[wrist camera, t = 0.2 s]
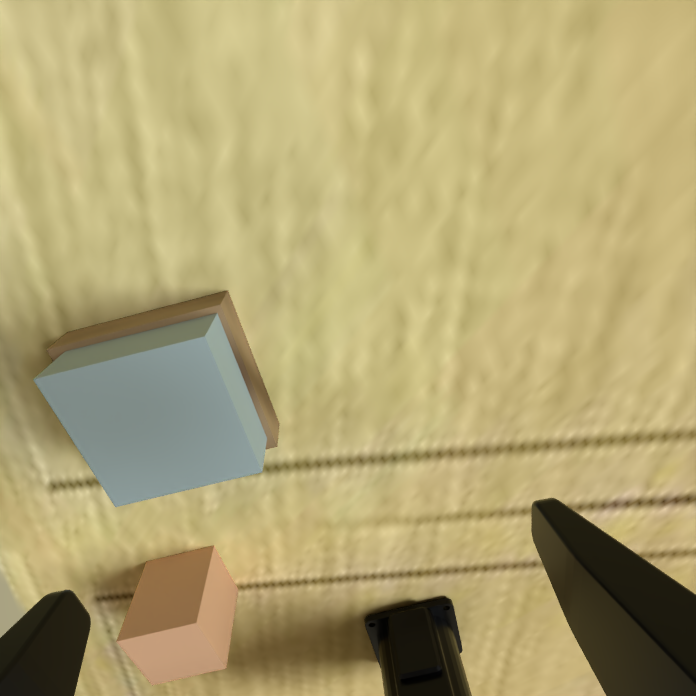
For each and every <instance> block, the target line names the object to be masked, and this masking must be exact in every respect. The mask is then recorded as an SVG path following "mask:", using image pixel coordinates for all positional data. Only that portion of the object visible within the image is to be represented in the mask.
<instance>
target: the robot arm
mask: <svg viewBox="0 0 696 696" xmlns="http://www.w3.org/2000/svg"><path fill="white" fill-rule="evenodd" d="M532 537H533V541H534V544H535V546H536V548H537V551H538V553H539V556H540V558H541V560H542V563H543V565H544V568H545V570H546V572H547V575H548V577H549V579H550V582H551V584H552V587H553V589H554V591H555V594H556V596H557V598H558V601H559V603H560V606H561V608H562V610H563V613H564V615H565V617H566V620H567V622H568V624H569V626H570V628H571V630H572V632H573V634H574V636H575V638H576V640H577V642H578V644H579V646H580V647H581V649H582V651H583V653H584V655H585V657H586V659H587V660H588V662H589V664H590V666H591V668H592V670H593V671H594V673H595V675H596V677H597V679H598V681H599V683H600V684H601V686H602V688H603V690H604V692H605V694H606V696H696V594H694V593H693V592H691V591H690V590H688V589H687V588H685V587H684V586H683V585H681V584H680V583H678V582H677V581H675V580H674V579H672V578H671V577H669V576H668V575H667V574H665V573H664V572H662V571H661V570H659V569H658V568H656V567H655V566H653V565H652V564H651V563H649V562H648V561H646V560H645V559H643V558H642V557H640V556H639V555H637V554H636V553H634V552H633V551H632V550H630V549H629V548H627V547H626V546H624V545H623V544H621V543H620V542H618V541H617V540H616V539H614V538H613V537H611V536H610V535H608V534H607V533H605V532H604V531H602V530H601V529H600V528H598V527H597V526H595V525H594V524H592V523H591V522H589V521H588V520H586V519H585V518H584V517H582V516H581V515H579V514H578V513H576V512H575V511H573V510H572V509H570V508H569V507H568V506H566V505H565V504H563V503H562V502H560V501H559V500H557V499H554V498H548V499H543V500H537V501H534V502H533V504H532ZM90 625H91V621H90V615H89V613H88V612H87V610H86V609H85V607H84V606H83V605H82V603H81V602H80V600H79V599H78V597H77V596H76V595H75V593H74V592H73V591H70V590H64V591H58V592H53V593H50V594H47V595H46V596H44V597H43V598H42V599H41V600H40V601H39V602H38V603H37V604H36V605H35V606H33V607H32V608H31V609H30V610H29V611H28V612H27V613H26V614H25V615H24V616H23V617H22V618H21V619H20V620H19V621H18V622H17V623H16V624H15V625H13V627H11V628H10V629H9V630H8V631H7V632H6V633H5V634H4V635H3V636H2V637H1V638H0V696H74V694H75V690H76V686H77V682H78V677H79V673H80V669H81V665H82V661H83V657H84V652H85V648H86V644H87V640H88V636H89V632H90ZM365 627H366V630H367V632H368V635H369V638H370V640H371V643H372V646H373V649H374V651H375V654H376V657H377V659H378V662H379V665H380V668H381V672H382V679H383V687H384V694H385V696H472V695H471V691H470V688H469V684H468V681H467V678H466V674H465V671H464V667H463V664H462V660H461V657H460V653H461V652H462V645H461V640H460V635H459V631H458V626H457V621H456V616H455V612H454V607H453V603H452V601H451V599H448V598H444V599H440V600H435V601H431V602H427V603H422V604H418V605H413V606H409V607H405V608H400V609H396V610H391V611H387V612H383V613H378V614H374V615H370V616H367V617H366V618H365Z"/></svg>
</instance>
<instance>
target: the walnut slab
mask: <svg viewBox="0 0 696 696" xmlns="http://www.w3.org/2000/svg"><path fill="white" fill-rule="evenodd" d="M215 313H218V316H219V318H220V321H221V324H222V326H223V329H224V331H225V334H226V336H227V339H228V341H229V344H230V346H231V349H232V351H233V354H234V356H235V359H236V361H237V364H238V366H239V369H240V371H241V374H242V376H243V379H244V381H245V384H246V386H247V389H248V391H249V394H250V397H251V399H252V402H253V404H254V407H255V409H256V412H257V414H258V417H259V419H260V422H261V424H262V427H263V429H264V432H265V434H266V437H267V442H266V449H269V448H273V447H277V443H278V433H279V421H278V419H277V416H276V414H275V411H274V409H273V406H272V403H271V401H270V398H269V396H268V393H267V390H266V388H265V385H264V383H263V380H262V377H261V375H260V372H259V370H258V367H257V365H256V362H255V359H254V357H253V354H252V352H251V349H250V346H249V344H248V341H247V339H246V336H245V333H244V331H243V328H242V326H241V323H240V320H239V318H238V315H237V313H236V310H235V308H234V305H233V302H232V300H231V297H230V295H229V292H228V291H224V292H220V293H216V294H212V295H208V296H205V297H201V298H197V299H193V300H189V301H185V302H182V303H178V304H174V305H170V306H166V307H162V308H159V309H155V310H151V311H147V312H143V313H139V314H136V315H132V316H128V317H124V318H120V319H116V320H113V321H109V322H105V323H101V324H97V325H93V326H90V327H86V328H82V329H78V330H74V331H70V332H67V333H66V334H65V335H64V336H62V337H61V338H60V339H59V340H57V341H56V342H55V343H54V344H53V345H51V346H50V347H49V348H48V349H46V351H47V352H48V354H49V355H50V357H51V359H52V360H53V362H54V361H55V360H56V359H57V358H58V357H59V356H60V355H62V354H63V353H64V352H65V351H69V350H72V349H76V348H80V347H84V346H88V345H92V344H96V343H100V342H104V341H108V340H112V339H116V338H120V337H124V336H128V335H132V334H136V333H140V332H144V331H148V330H152V329H156V328H160V327H164V326H168V325H172V324H176V323H180V322H184V321H188V320H192V319H195V318H199V317H203V316H207V315H211V314H215Z"/></svg>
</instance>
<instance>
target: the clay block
mask: <svg viewBox="0 0 696 696" xmlns="http://www.w3.org/2000/svg"><path fill="white" fill-rule="evenodd" d="M237 595H238V588H237V586H236V584H235V583H234V581H233V579H232V577H231V575H230V574H229V572H228V570H227V568H226V566H225V564H224V563H223V561H222V559H221V557H220V555H219V554H218V552H217V550H216V548H215V546H210V547H206V548H201V549H197V550H193V551H189V552H184V553H180V554H176V555H172V556H168V557H163V558H159V559H155V560H151V561H147V562H146V564H145V567H144V570H143V572H142V575H141V578H140V580H139V583H138V585H137V588H136V591H135V593H134V596H133V599H132V601H131V604H130V607H129V609H128V612H127V615H126V617H125V620H124V623H123V625H122V628H121V631H120V633H119V636H118V639H117V641H116V642H117V643H118V644H119V645H120V647H121V648H122V649H123V650H124V652H125V653H126V654H127V655H128V656H129V658H130V659H131V660H132V661H133V663H134V664H135V665H136V666H137V667H138V669H139V670H140V671H141V672H142V674H143V675H144V676H145V677H146V678H147V680H148V681H149V682H150V683H151V684H152V685H156V684H161V683H165V682H169V681H174V680H178V679H183V678H187V677H191V676H196V675H200V674H204V673H209V672H213V671H218V670H222V669H226V667H227V660H228V654H229V647H230V641H231V634H232V628H233V621H234V615H235V608H236V602H237Z"/></svg>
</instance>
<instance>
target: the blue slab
mask: <svg viewBox="0 0 696 696" xmlns="http://www.w3.org/2000/svg"><path fill="white" fill-rule="evenodd" d="M33 380H34V382H35V383H36V385H37V386H38V388H39V389H40V391H41V393H42V394H43V396H44V397H45V399H46V400H47V402H48V403H49V405H50V407H51V408H52V410H53V411H54V413H55V414H56V416H57V417H58V419H59V420H60V422H61V424H62V425H63V427H64V428H65V430H66V431H67V433H68V434H69V436H70V438H71V439H72V441H73V442H74V444H75V445H76V447H77V448H78V450H79V451H80V453H81V455H82V456H83V458H84V459H85V461H86V462H87V464H88V465H89V467H90V469H91V470H92V472H93V473H94V475H95V476H96V478H97V479H98V481H99V482H100V484H101V486H102V487H103V489H104V490H105V492H106V493H107V495H108V496H109V498H110V500H111V501H112V503H113V504H114V506H115V507H118V506H122V505H126V504H131V503H135V502H139V501H143V500H147V499H152V498H156V497H160V496H164V495H168V494H173V493H177V492H181V491H185V490H189V489H194V488H198V487H202V486H206V485H210V484H215V483H219V482H223V481H227V480H231V479H236V478H240V477H244V476H248V475H252V474H257V473H261V472H262V470H263V463H264V456H265V449H266V442H267V437H266V434H265V432H264V429H263V427H262V424H261V422H260V419H259V417H258V414H257V412H256V409H255V407H254V404H253V402H252V399H251V397H250V394H249V391H248V389H247V386H246V384H245V381H244V379H243V376H242V374H241V371H240V369H239V366H238V364H237V361H236V359H235V356H234V354H233V351H232V349H231V346H230V344H229V341H228V339H227V336H226V334H225V331H224V329H223V326H222V324H221V321H220V318H219V316H218V313H215V314H211V315H207V316H203V317H199V318H195V319H192V320H188V321H184V322H180V323H176V324H172V325H168V326H164V327H160V328H156V329H152V330H148V331H144V332H140V333H136V334H132V335H128V336H124V337H120V338H116V339H112V340H108V341H104V342H100V343H96V344H92V345H88V346H84V347H80V348H76V349H72V350H69V351H65V352H64V353H63V354H62V355H60V356H59V357H58V358H57V359H56V360H55V361H54V362H52V363H51V364H50V365H49V366H48V367H47V368H45V369H44V370H43V371H42V372H41V373H40V374H39V375H37V376H36V377H35V378H34V379H33Z"/></svg>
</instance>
